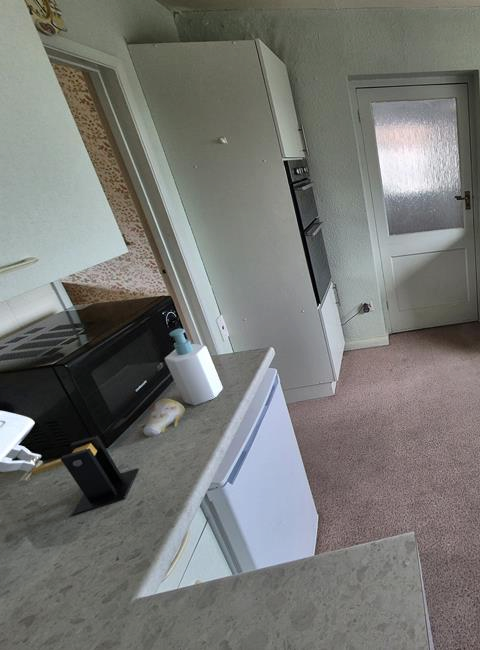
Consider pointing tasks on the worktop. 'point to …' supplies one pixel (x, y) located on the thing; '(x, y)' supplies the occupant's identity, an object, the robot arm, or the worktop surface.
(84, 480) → the bracket
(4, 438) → the robot arm
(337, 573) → the worktop surface
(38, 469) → the tap lever
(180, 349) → the soap bottle
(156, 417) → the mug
